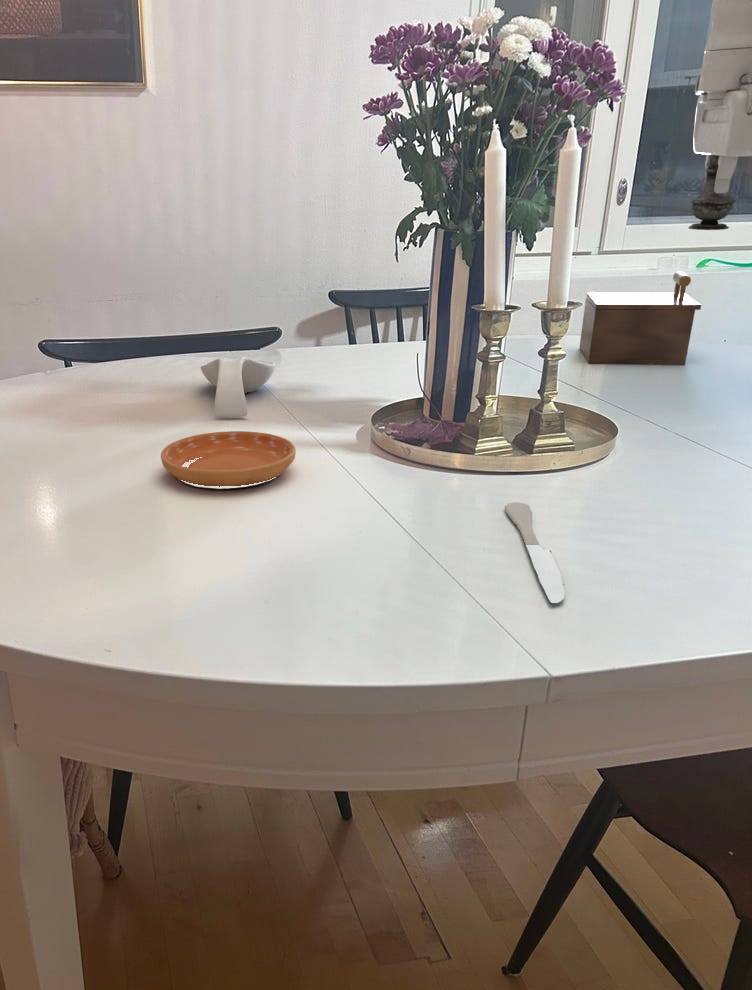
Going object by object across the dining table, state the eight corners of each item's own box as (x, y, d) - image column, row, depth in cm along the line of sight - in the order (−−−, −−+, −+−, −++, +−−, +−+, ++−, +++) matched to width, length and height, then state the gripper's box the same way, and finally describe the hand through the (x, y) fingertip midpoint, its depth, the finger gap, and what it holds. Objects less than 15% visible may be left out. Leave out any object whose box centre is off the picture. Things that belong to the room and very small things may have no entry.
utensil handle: (531, 502, 99) (503, 502, 100) (574, 602, 79) (539, 601, 79) (531, 506, 100) (503, 505, 100) (574, 606, 79) (538, 605, 79)
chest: (669, 349, 167) (678, 297, 163) (685, 364, 156) (695, 309, 152) (579, 348, 169) (585, 297, 165) (588, 363, 159) (595, 309, 154)
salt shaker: (685, 230, 131) (702, 132, 125) (686, 226, 136) (701, 132, 130) (731, 230, 129) (750, 131, 123) (730, 226, 134) (748, 131, 128)
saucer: (134, 479, 111) (132, 454, 109) (221, 445, 122) (220, 423, 120) (239, 505, 102) (238, 479, 101) (322, 467, 113) (322, 443, 112)
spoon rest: (204, 381, 154) (202, 336, 150) (276, 379, 153) (275, 334, 150) (191, 420, 133) (188, 369, 129) (274, 418, 133) (273, 367, 129)
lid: (683, 297, 163) (689, 268, 160) (700, 309, 152) (706, 278, 150) (585, 297, 165) (589, 268, 163) (595, 309, 154) (600, 278, 152)
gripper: (786, 71, 114) (761, 196, 121) (740, 78, 132) (721, 187, 139) (731, 73, 115) (709, 197, 122) (693, 80, 133) (676, 188, 140)
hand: (715, 192), depth 130 cm, fingers closed on salt shaker, 3 cm apart
